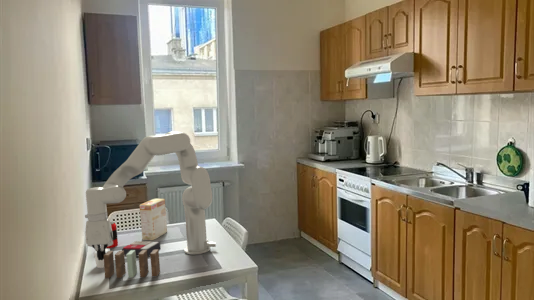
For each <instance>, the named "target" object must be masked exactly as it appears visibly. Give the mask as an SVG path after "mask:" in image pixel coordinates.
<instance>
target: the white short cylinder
mask: <svg viewBox="0 0 534 300" xmlns="http://www.w3.org/2000/svg"><path fill="white" fill-rule="evenodd" d="M108 251H111V248H106V249H105V253H107V252H108ZM93 255H94V258H95V264H96V268H98V269H102V268H103V269H104V259H103V260H98V258H97V251H95V250H94V251H93Z"/></svg>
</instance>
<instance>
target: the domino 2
mask: <svg viewBox="0 0 534 300" xmlns="http://www.w3.org/2000/svg"><path fill="white" fill-rule="evenodd" d="M114 265H115V275H116V279H122V278H123V277H124V276H125V274H126V273H127V270H126V258H125V254H124V251H122V250H118V251H117V252H116V253H115V254H114Z"/></svg>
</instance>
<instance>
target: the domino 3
mask: <svg viewBox="0 0 534 300" xmlns="http://www.w3.org/2000/svg"><path fill="white" fill-rule="evenodd" d="M126 263H127V277H128V278H129V279H130V278H135V276H136V275H137V273H138V267H137V266H138V265H137V255H136V253H135V250H131V251H129V252H128V253H127V254H126Z"/></svg>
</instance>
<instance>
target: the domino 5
mask: <svg viewBox="0 0 534 300" xmlns="http://www.w3.org/2000/svg"><path fill="white" fill-rule="evenodd" d="M159 251H160V250H158V249H155V250H153V251H152V252H151V253H150V256H149V257H150V269H151V270H150V271H151V277H152V276H157V275H158V276H159V274H160V273H161V266H160V265H161V264H160V252H159ZM159 272H160V273H159ZM158 276H157V277H158Z"/></svg>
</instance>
